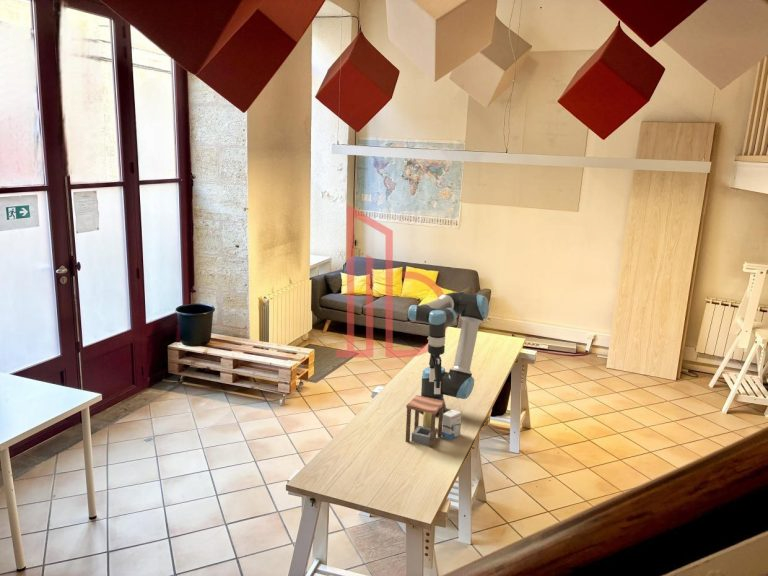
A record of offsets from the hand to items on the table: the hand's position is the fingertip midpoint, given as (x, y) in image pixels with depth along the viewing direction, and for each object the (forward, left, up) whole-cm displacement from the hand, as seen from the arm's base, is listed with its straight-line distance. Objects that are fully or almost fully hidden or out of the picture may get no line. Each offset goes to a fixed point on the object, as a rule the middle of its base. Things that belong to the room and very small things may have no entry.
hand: (434, 387), depth 277 cm
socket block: (+2, -3, -26) cm, 27 cm away
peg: (-11, -6, -26) cm, 29 cm away
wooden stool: (+2, -3, -26) cm, 27 cm away
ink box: (-8, +7, -27) cm, 29 cm away
